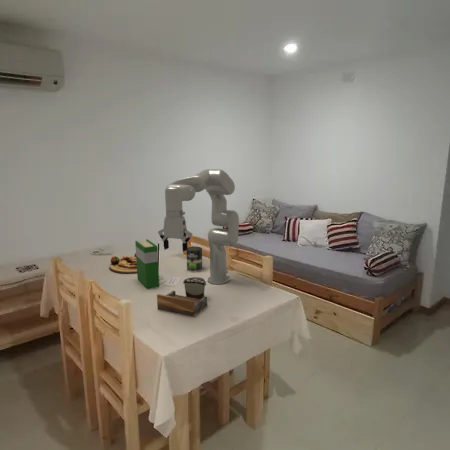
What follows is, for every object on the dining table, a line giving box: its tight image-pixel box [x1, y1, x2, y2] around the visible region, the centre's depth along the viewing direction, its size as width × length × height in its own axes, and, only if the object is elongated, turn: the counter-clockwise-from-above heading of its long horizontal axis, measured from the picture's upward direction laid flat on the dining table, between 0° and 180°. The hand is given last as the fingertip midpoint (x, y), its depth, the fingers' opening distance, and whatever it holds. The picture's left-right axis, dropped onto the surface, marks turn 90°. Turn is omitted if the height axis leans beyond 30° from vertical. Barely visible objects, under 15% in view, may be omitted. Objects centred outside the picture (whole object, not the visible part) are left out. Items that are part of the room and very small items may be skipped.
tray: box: [156, 290, 208, 318], centre depth 178 cm, size 14×20×8 cm
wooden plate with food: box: [109, 252, 137, 275], centre depth 242 cm, size 32×32×8 cm
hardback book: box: [134, 238, 160, 290], centre depth 209 cm, size 18×7×24 cm, turn 29°
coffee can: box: [185, 246, 203, 273], centre depth 233 cm, size 10×10×14 cm
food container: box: [182, 276, 207, 299], centre depth 190 cm, size 12×6×10 cm, turn 74°
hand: (175, 249), depth 169 cm, fingers open, 9 cm apart
